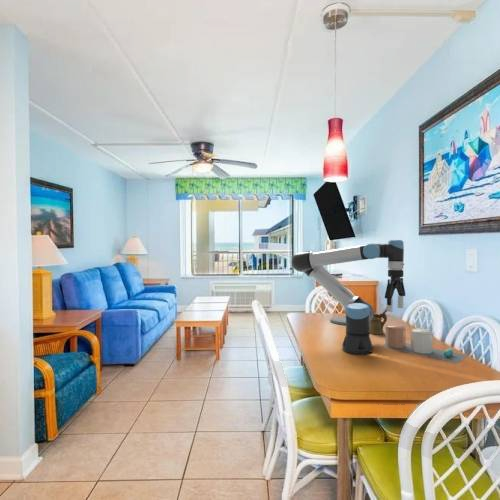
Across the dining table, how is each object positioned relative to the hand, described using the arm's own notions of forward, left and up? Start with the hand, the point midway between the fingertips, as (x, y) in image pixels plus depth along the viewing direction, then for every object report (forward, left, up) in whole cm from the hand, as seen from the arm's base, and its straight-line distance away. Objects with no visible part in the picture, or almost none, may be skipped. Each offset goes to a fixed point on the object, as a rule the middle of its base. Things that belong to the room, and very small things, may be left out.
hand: (395, 309), depth 180 cm
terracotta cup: (0, 0, -19) cm, 19 cm away
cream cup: (0, -13, -19) cm, 23 cm away
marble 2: (+2, -25, -17) cm, 31 cm away
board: (0, -13, -20) cm, 24 cm away
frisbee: (+37, +47, -21) cm, 63 cm away
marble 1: (-2, -25, -17) cm, 31 cm away
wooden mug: (+24, +20, -20) cm, 37 cm away
